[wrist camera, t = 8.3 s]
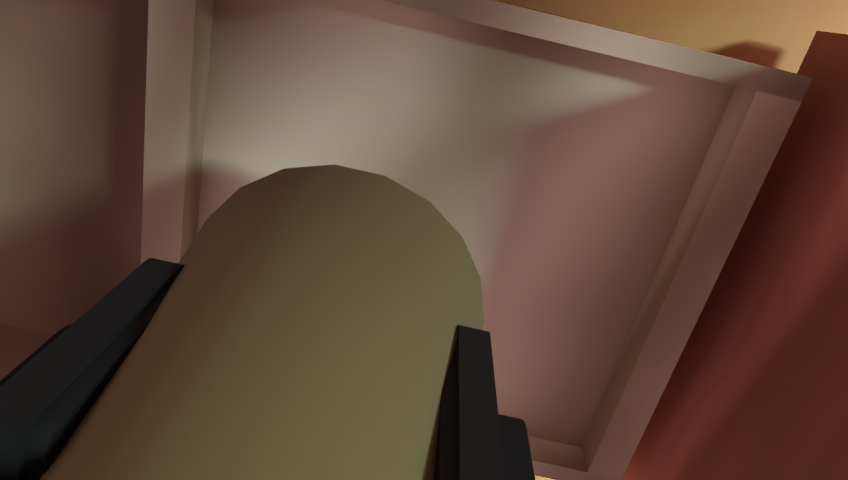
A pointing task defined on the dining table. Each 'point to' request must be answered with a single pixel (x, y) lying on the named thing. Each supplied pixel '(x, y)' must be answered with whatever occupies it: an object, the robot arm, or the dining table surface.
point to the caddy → (67, 161)
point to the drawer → (558, 208)
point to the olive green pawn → (292, 342)
